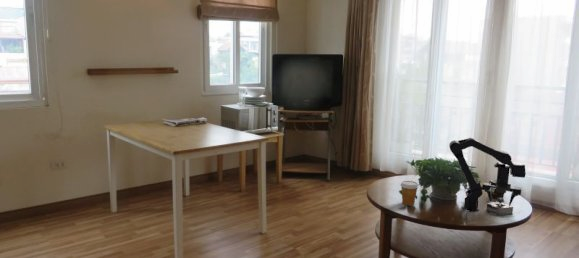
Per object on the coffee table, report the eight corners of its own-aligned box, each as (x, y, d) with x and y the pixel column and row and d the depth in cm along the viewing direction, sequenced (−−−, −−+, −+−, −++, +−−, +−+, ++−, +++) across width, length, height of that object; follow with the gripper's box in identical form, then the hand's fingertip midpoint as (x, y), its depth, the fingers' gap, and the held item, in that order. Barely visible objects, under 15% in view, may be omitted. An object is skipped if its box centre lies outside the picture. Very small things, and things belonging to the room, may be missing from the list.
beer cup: (418, 202, 265) (419, 182, 263) (415, 207, 257) (416, 186, 255) (401, 200, 269) (402, 179, 267) (397, 204, 261) (399, 183, 259)
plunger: (499, 212, 250) (500, 199, 249) (495, 210, 253) (496, 197, 252) (503, 212, 251) (504, 199, 250) (499, 210, 254) (500, 197, 253)
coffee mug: (506, 200, 272) (508, 184, 271) (490, 199, 274) (492, 182, 272) (502, 195, 283) (503, 178, 282) (486, 193, 285) (488, 177, 283)
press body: (498, 215, 247) (499, 208, 246) (482, 208, 258) (483, 201, 257) (512, 214, 250) (513, 207, 249) (496, 207, 261) (496, 200, 260)
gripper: (482, 176, 246) (479, 205, 249) (522, 182, 238) (519, 211, 240) (484, 172, 256) (481, 199, 258) (522, 176, 248) (519, 205, 250)
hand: (499, 204), depth 252 cm, fingers open, 9 cm apart
